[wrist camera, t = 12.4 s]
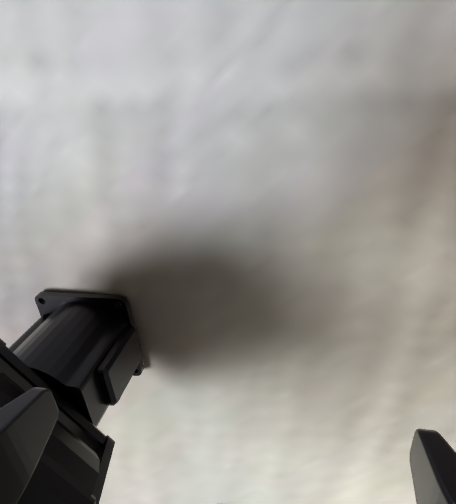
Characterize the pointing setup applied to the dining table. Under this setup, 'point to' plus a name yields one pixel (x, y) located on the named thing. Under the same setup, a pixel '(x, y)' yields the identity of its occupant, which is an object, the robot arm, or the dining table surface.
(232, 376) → the dining table surface
